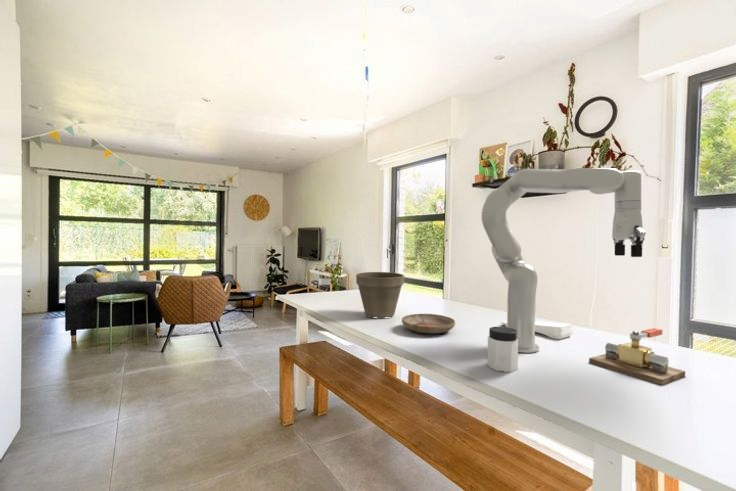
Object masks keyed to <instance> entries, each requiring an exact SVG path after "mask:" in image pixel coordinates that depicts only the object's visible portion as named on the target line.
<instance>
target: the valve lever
mask: <svg viewBox="0 0 736 491" xmlns="http://www.w3.org/2000/svg"><path fill="white" fill-rule="evenodd" d="M640 331H641V332H639V331H636V330H633V331H632V332H631V333H630V334H629V339H630V340H631V339H633V340H639V341H641V340H642V339H643V338H644V339H645V338H654V337H658V336H662V335H663V329H659V328H655V327H654V328H652V327H651V328H649V329H644V330H640Z"/></svg>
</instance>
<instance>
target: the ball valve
mask: <svg viewBox="0 0 736 491" xmlns="http://www.w3.org/2000/svg"><path fill="white" fill-rule="evenodd" d="M630 342H631V343H630ZM630 342H625V343H620V344H614V343H610V342H607V343H606V344H605V347H604V348H605V349H604V350H605V354H606V358H608V359H612V360H615V359H619V361H620V362H624V363H627V364H631V365H634V366H638V367H641V368H643V367H646V366H652V371H654V372H657V373H661V374H662V373H665V372H667V369H668V367H669V358H668V357H666V356H663V355H659V354H655V352H654V351H652V350H653V349H652V347H648V346H643V345H640V340H633V339H630Z"/></svg>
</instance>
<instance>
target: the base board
mask: <svg viewBox="0 0 736 491" xmlns="http://www.w3.org/2000/svg"><path fill="white" fill-rule="evenodd" d="M588 363H590V364H593V365H595V366H598V367H602V368H605V369H609V370H613V371H615V372H618V373H622V374H625V375H629V376H632V377H634V378H637V379H640V380H641V379H642V380H644V381H647V382H651V383H655V384H657V385H661V386H663V385H665V384H668V383H671V382H674V381H675V380H679V379H681V378H684V377H686V371H685V370H682V369H678V368H674V367H671V366H668V369H667V372H665V373H662V374H661V373H657V372H654V371H652V366H646V367H643V368H641V367H638V366H634V365H631V364H627V363H624V362H620V361H619V359H615V360H612V359H608V358H606V353H604V354H600V355H596V356H592V357H589V359H588Z"/></svg>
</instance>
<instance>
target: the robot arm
mask: <svg viewBox="0 0 736 491" xmlns="http://www.w3.org/2000/svg"><path fill="white" fill-rule="evenodd" d="M577 191H589V192H590V193H592V194H594V195H605V194H613V193H614V213H613V217H612V218H613V220H612V231H611V232H612V236H611V237H612V240H613V245H614V256H616V257H617V256H621V257H622V256H625V254H626V244H625V242H626V240H630V242H631V245H630V257H631V258H641V257H643V245H644V241H645V236H646V231H645V230H644V229H643V217H642V173H641V171H639V170H623V171H620V170H618V169H617V168H609V167H587V168H586V167H583V168H565V169H564V168H563V169H562V168H561V169H559V168H558V169H554V168H551V169H550V168H547V169H546V168H522V169H519V170H517V171H516V172H515V173H514V174H513V175H512V176H511V177H509V178H508V179H507V180H506V181H505V182H504V183H502V184H501V185H499V187H497V188H496V189H494V190H492V191H491V192H490V193H489V194H488V195H487V196H486V199H485V201H484V204H483V206H482V209H481V210H482V211H481V223H482V226H483V228H484V229H483V230H484V231H485V233H486V235H487V237H488V240H489V241H490V243H491V253H492V256H493V258H494V260H495V262H496V263H497V266H498V268H499V270H500V272H501V273H502V275H503V277H504V278H505V280H506V281H507V282H508V284H507V285H508V286H507V298H506V299H507V300H506V301H507V302H506V305H507V306H506V308H507V309H506V311H507V314H506V319H507V320H506V321H507V327H508V328H512V329H515V330H516V331H517V339H518V353H525V354H528V353H529V354H531V353H537V352H539V351H540V346H539V344H537V343H536V341H535V340H536V332H535V322H536V295H537V287H538V274H537V271H536V269H535V268H534V267H533V266H532V265H531V264H528V263H526V262H525V260H524V258H523V256H522V246H521V244H520V242H519V241H518V239H517V237H516V236H515V234H514V232H513V230H512V229H511V225H510V224H509V222H508V219H507V210H508V209H510V206H512V205H513V204H514V203H515V202H517V201H518V200H519V199H521V198H522V197H523V196H524V195H525V194H526V193H539V194H545V193H546V194H565V193H571V192H577Z"/></svg>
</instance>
